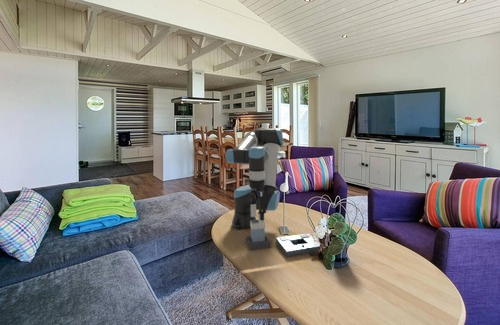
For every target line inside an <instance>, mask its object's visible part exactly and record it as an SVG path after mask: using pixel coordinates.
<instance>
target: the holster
mask: <svg viewBox="0 0 500 325" xmlns="http://www.w3.org/2000/svg"><path fill="white" fill-rule="evenodd" d="M245 243H246V245H247V247H248V249H249V250H250V251H256V250H262V249H270V248H271V241H270V240H269V238H268V237H267V236H266V235H265V241H263V242H255V243H252V242H251V235H249V236H248V235H247V236H245Z"/></svg>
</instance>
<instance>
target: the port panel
mask: <svg viewBox="0 0 500 325" xmlns="http://www.w3.org/2000/svg"><path fill="white" fill-rule="evenodd" d="M313 238H314V237H313V236H312V235H311V234H309V233H303V234H301V233H300V234H294V235H289V236H288V235H287V236H280V237H276V238H275V245H277V247H278V249H279V250H281V252H282V253H283V254H284V256H285V257H286V258H291V257H292V258H293V257H297V256H304V255H305V256H306V255H309V256H316V255H320V254H319V250H320V244H321V243H320V242H319V241H318V242H316V241H314V239H315V238H314V239H313Z"/></svg>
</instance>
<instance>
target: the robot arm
mask: <svg viewBox="0 0 500 325" xmlns="http://www.w3.org/2000/svg"><path fill="white" fill-rule="evenodd" d="M283 137H284V136H283V131H282V129H280V128H257V129H253V130H251V131H248V132H247V133H246V134H245V135H244V137H243V138H242V140H241V141H240V142H239V144H237V145H236V147H234V148H230V149H227V150H226V152H225V161H226V163H227V164H235V165H237V164H243V165H246V164H247V165H248V173H247V175H248V176H249V180H248V182H249V184H248V186H240V187H238V188H236V189H235V190H234V191H233V193H234V194H233V205H234V214H233V217H232V219H231V220H232V221H231V226H233V227H232V228H234V230H235V229H236V230H239V231H241V230H248V229H250V230H251V227H250V221H252V220H258V226H259V227H262V226H264V222H265V214H266V213H267V212H270V211H272V212H274V211H276V210H277V209H278V207H279V202H280V196H281V192H280V191H279V190H278V187H277V186H276V180H277V169H278V168H277V167H278V157H279V155H278V154H279V152H280V151H281V148H282V147H284V138H283ZM257 211H258V212H257ZM257 214H258V215H257ZM257 216H258V217H257ZM256 217H257V218H256Z"/></svg>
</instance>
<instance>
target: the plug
mask: <svg viewBox="0 0 500 325" xmlns="http://www.w3.org/2000/svg"><path fill="white" fill-rule="evenodd" d="M250 227H251V228H250V236H251V242H252V243H255V242H263V241H265V236H266V235H265V234H266V233H265V232H266V231H265V228H266V222H265V221H264V226H262V227H259V226H258V219H256V220H252V221H250Z"/></svg>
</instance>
